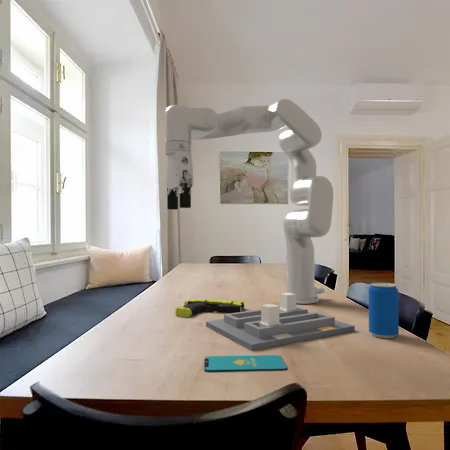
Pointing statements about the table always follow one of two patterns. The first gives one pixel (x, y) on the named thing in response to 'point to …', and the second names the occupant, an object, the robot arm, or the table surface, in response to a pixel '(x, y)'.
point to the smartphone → (244, 363)
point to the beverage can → (383, 310)
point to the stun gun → (209, 307)
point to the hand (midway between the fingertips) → (178, 208)
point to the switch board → (277, 328)
